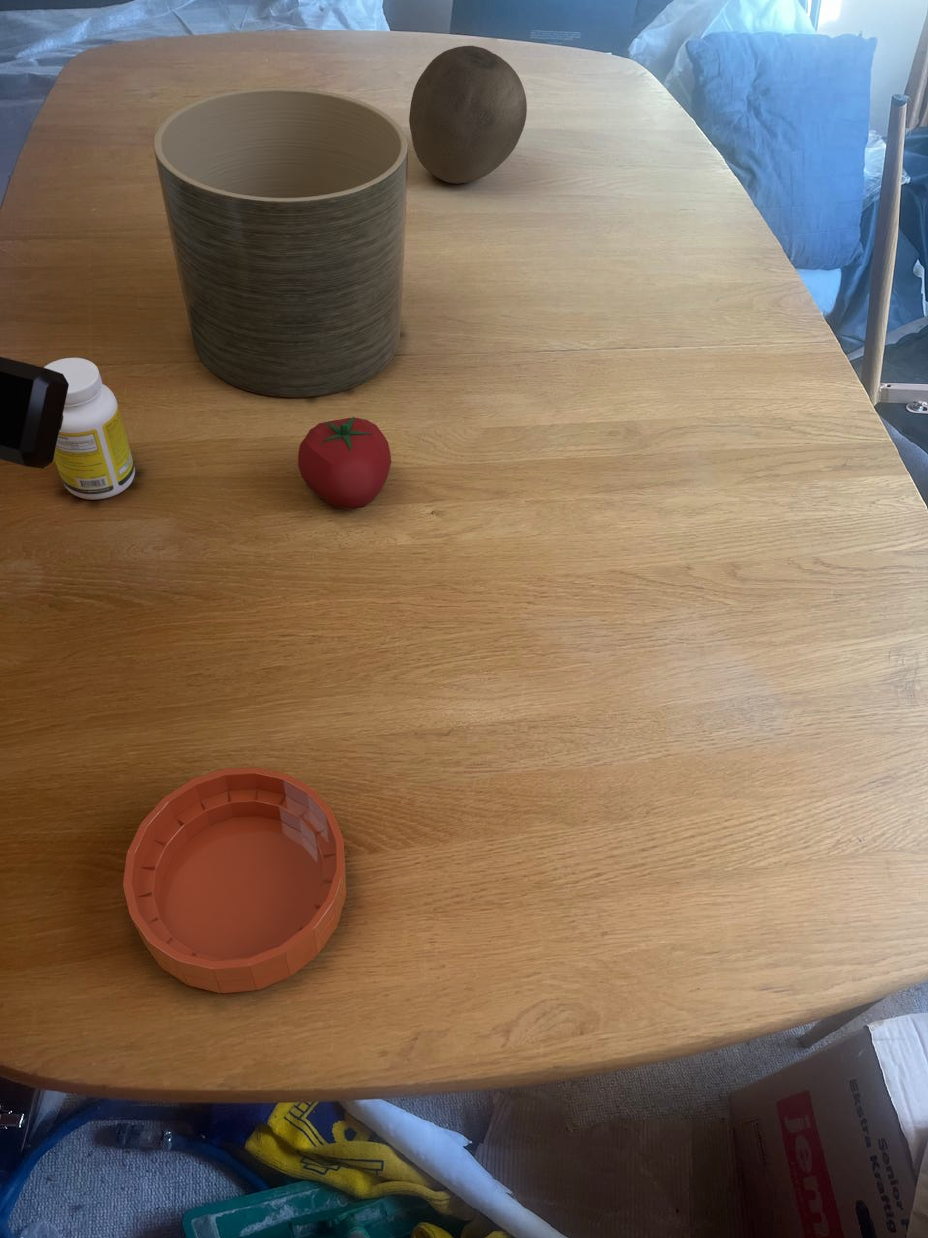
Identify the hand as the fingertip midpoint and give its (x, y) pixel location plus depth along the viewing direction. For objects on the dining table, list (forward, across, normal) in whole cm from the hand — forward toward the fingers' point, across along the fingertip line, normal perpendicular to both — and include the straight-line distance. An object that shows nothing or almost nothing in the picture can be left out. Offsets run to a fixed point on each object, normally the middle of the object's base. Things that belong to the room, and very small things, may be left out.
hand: (3, 407), depth 70 cm
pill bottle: (+15, 0, +4) cm, 16 cm away
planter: (+34, -7, -14) cm, 37 cm away
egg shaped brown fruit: (+63, -13, -43) cm, 77 cm away
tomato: (+20, -21, 0) cm, 29 cm away
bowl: (-7, -28, +26) cm, 39 cm away
